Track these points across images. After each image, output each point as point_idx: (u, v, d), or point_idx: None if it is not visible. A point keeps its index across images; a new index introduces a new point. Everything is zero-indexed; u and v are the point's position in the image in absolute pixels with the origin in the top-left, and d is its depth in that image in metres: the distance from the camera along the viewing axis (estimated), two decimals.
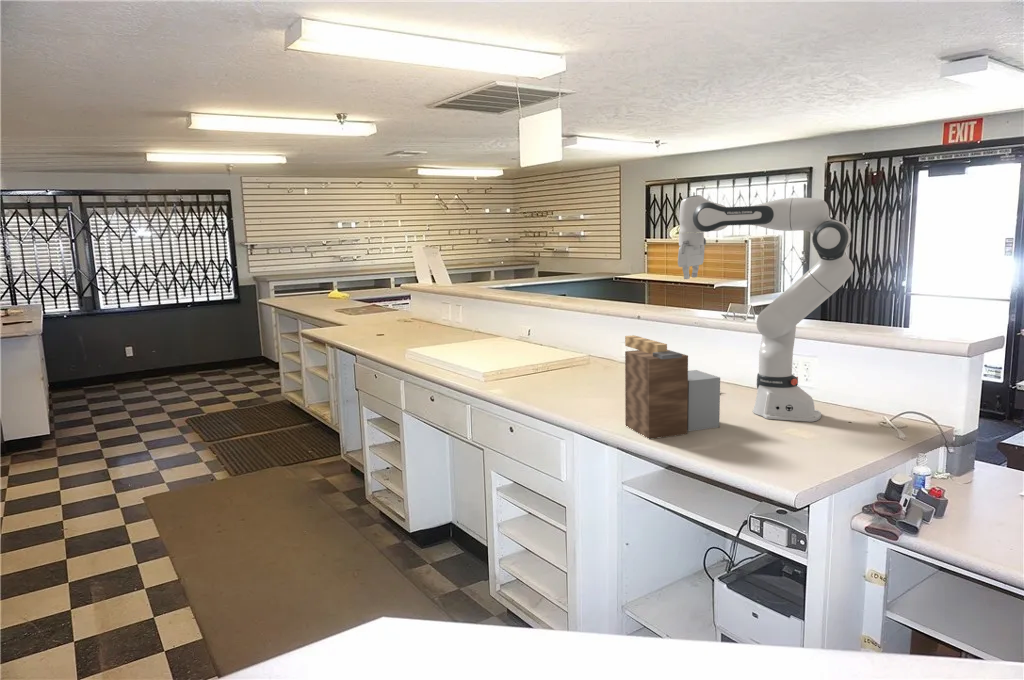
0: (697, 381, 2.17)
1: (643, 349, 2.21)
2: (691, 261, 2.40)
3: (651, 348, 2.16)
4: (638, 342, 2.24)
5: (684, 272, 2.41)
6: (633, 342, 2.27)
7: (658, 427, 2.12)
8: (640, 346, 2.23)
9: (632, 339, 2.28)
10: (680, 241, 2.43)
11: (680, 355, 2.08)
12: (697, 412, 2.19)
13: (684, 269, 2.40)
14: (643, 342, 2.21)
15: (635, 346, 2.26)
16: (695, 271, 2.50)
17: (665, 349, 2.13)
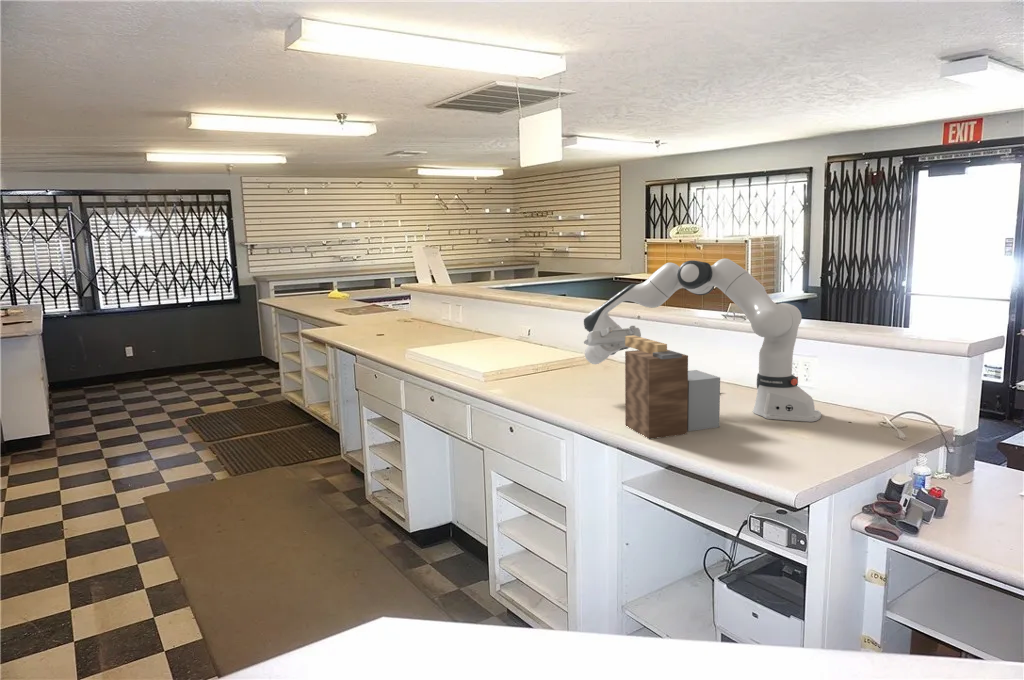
0: (697, 381, 2.17)
1: (643, 349, 2.21)
2: None
3: (651, 348, 2.16)
4: (638, 342, 2.24)
5: (604, 333, 2.39)
6: (633, 342, 2.27)
7: (658, 427, 2.12)
8: (640, 346, 2.23)
9: (632, 339, 2.28)
10: (601, 350, 2.49)
11: (680, 355, 2.08)
12: (697, 412, 2.19)
13: (602, 334, 2.40)
14: (643, 342, 2.21)
15: (635, 346, 2.26)
16: None
17: (665, 349, 2.13)
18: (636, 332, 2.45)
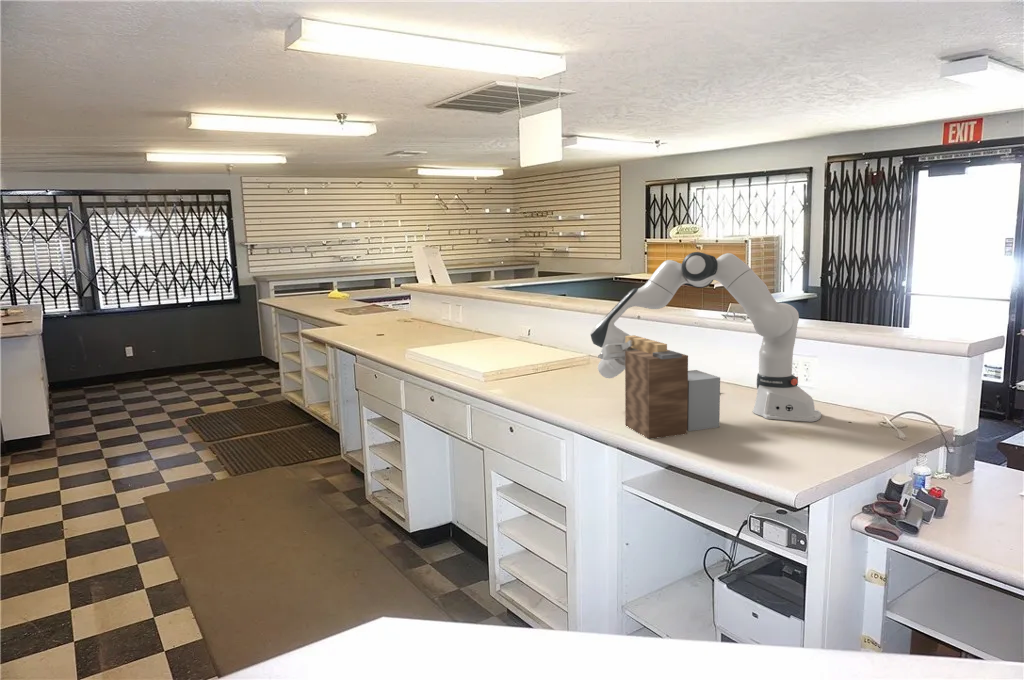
0: (697, 381, 2.17)
1: (643, 349, 2.21)
2: None
3: (651, 348, 2.16)
4: (638, 342, 2.24)
5: (626, 346, 2.29)
6: None
7: (658, 427, 2.12)
8: (640, 346, 2.23)
9: (632, 339, 2.28)
10: (616, 364, 2.38)
11: (680, 355, 2.08)
12: (697, 412, 2.19)
13: (623, 347, 2.30)
14: (643, 342, 2.21)
15: (635, 346, 2.26)
16: None
17: (665, 349, 2.13)
18: None
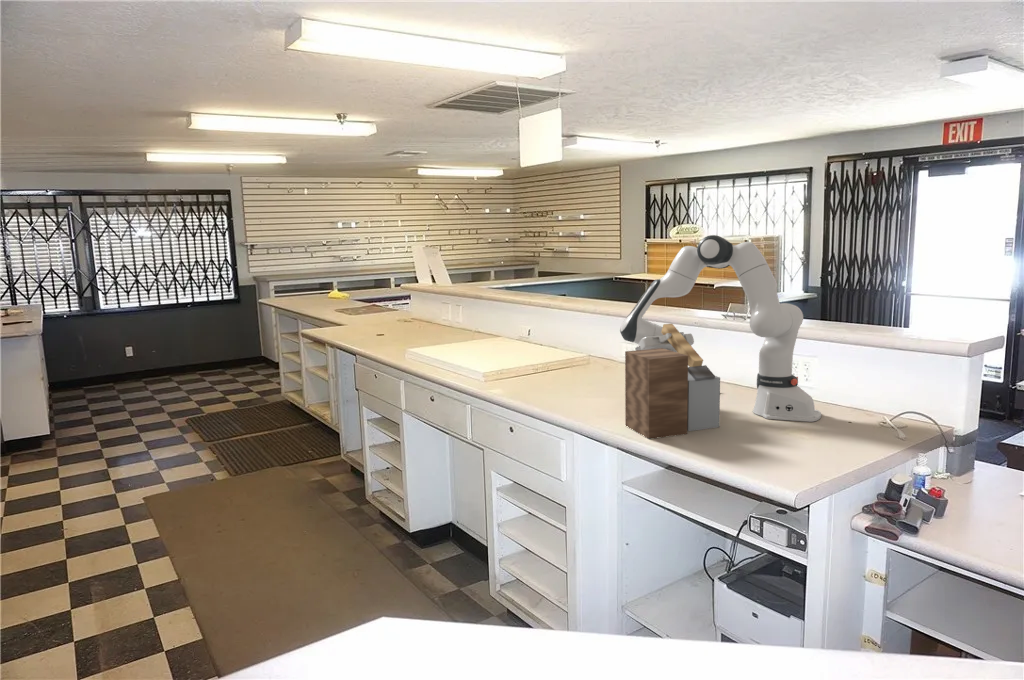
0: (697, 381, 2.17)
1: (679, 352, 2.28)
2: None
3: None
4: (675, 341, 2.29)
5: (663, 339, 2.33)
6: None
7: (658, 427, 2.12)
8: (676, 347, 2.29)
9: None
10: None
11: (713, 377, 2.18)
12: (697, 412, 2.19)
13: (661, 340, 2.34)
14: (680, 346, 2.27)
15: (671, 342, 2.32)
16: None
17: (700, 364, 2.21)
18: (689, 338, 2.39)
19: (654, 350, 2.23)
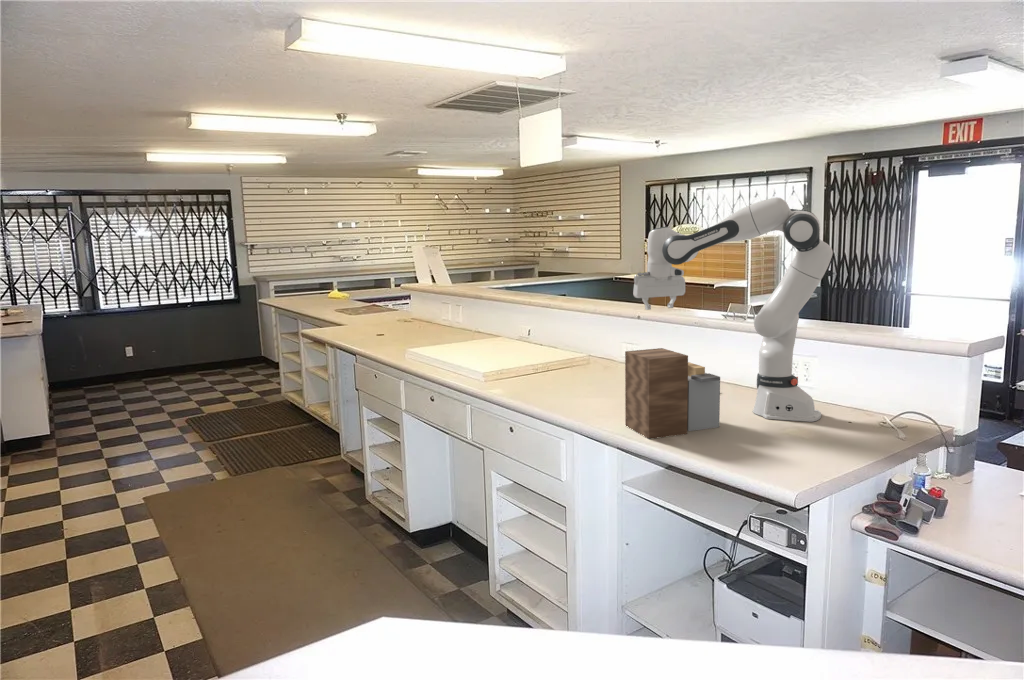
0: (697, 381, 2.17)
1: None
2: (648, 292, 2.42)
3: (689, 371, 2.23)
4: None
5: (644, 303, 2.44)
6: None
7: (658, 427, 2.12)
8: None
9: None
10: None
11: (718, 378, 2.15)
12: (697, 412, 2.19)
13: (643, 300, 2.44)
14: None
15: None
16: (671, 302, 2.47)
17: (703, 372, 2.20)
18: None
19: (654, 350, 2.23)
